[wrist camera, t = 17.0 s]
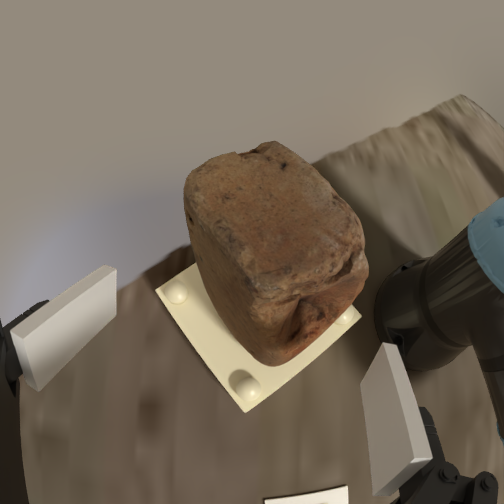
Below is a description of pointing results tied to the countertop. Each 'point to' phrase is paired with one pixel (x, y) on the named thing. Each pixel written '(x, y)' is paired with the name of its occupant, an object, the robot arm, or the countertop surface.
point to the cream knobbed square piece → (228, 348)
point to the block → (273, 248)
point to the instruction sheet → (315, 497)
